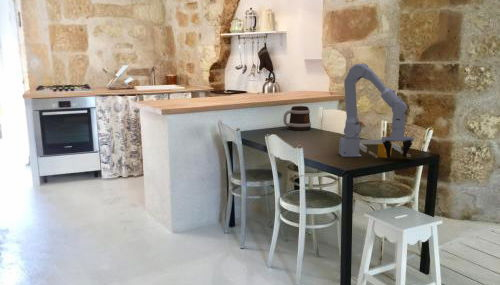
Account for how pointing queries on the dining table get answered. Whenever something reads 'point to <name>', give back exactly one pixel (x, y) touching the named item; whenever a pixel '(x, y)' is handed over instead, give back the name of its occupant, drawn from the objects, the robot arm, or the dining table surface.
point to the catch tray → (376, 141)
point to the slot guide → (377, 155)
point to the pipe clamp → (383, 150)
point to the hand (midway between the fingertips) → (396, 156)
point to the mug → (298, 118)
